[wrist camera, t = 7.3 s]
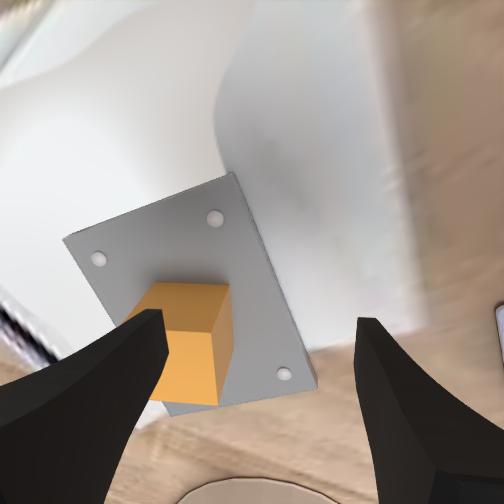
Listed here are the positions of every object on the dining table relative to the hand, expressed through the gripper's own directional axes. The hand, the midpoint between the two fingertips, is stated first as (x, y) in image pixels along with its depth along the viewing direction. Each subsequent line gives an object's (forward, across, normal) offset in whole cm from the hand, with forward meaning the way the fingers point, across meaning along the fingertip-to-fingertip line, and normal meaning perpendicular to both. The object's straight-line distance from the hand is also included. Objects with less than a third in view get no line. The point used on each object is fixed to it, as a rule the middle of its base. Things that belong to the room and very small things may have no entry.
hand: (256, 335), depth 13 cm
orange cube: (+9, +6, +5) cm, 12 cm away
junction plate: (+10, +6, +5) cm, 12 cm away
